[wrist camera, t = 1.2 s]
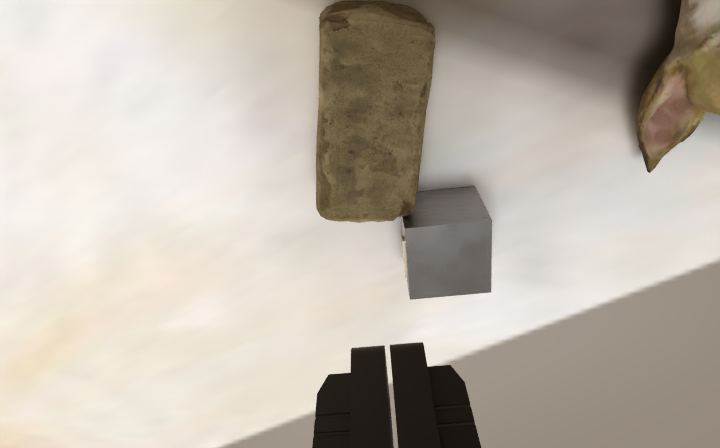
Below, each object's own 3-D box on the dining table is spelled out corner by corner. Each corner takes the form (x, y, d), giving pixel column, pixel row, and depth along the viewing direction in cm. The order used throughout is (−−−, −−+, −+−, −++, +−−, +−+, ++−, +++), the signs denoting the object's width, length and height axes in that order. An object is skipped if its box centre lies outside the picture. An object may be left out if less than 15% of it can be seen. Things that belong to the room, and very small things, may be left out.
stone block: (319, 191, 35) (314, 227, 30) (320, -4, 29) (314, 4, 25) (409, 194, 35) (417, 230, 30) (427, 1, 29) (440, 9, 25)
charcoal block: (474, 185, 34) (491, 220, 30) (474, 251, 37) (491, 292, 32) (396, 193, 35) (401, 228, 30) (401, 258, 37) (407, 299, 32)
